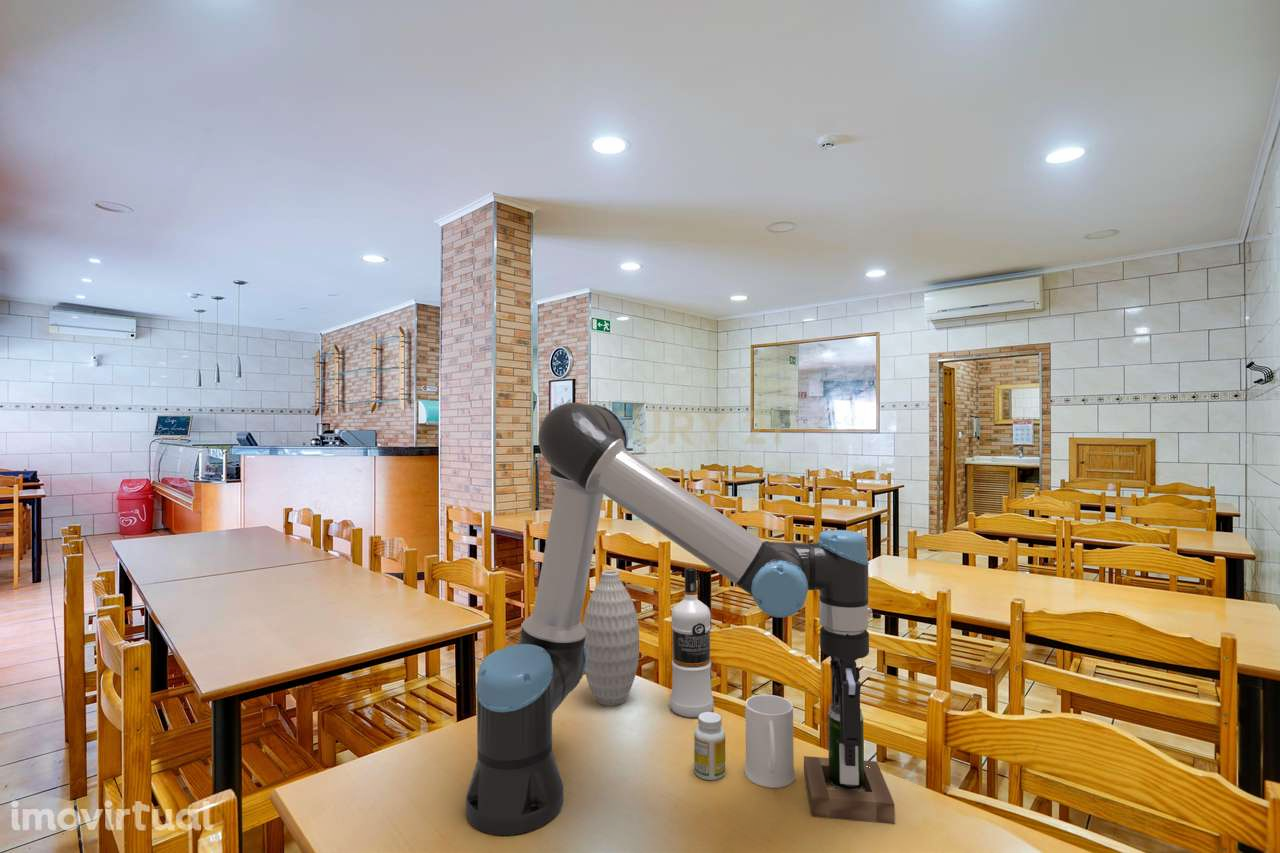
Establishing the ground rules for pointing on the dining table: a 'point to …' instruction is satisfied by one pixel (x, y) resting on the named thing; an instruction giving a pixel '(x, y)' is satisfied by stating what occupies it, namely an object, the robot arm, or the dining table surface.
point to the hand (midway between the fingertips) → (845, 772)
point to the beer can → (834, 763)
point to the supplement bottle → (709, 747)
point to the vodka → (691, 653)
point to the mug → (769, 741)
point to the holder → (848, 794)
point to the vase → (611, 640)
